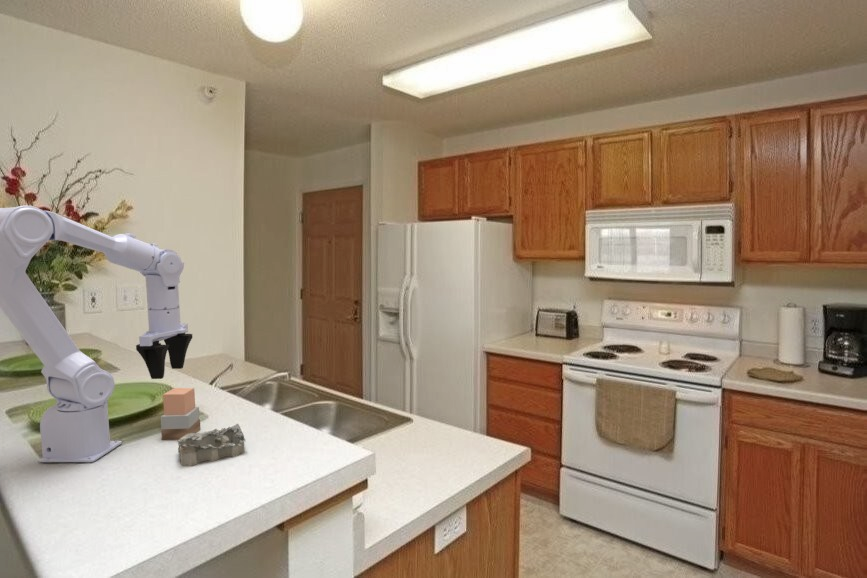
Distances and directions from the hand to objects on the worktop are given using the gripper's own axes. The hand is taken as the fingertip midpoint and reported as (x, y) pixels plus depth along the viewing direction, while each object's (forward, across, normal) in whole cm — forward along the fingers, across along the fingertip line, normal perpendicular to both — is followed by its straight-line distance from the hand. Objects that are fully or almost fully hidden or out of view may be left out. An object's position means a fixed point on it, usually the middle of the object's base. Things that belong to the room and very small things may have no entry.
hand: (167, 373), depth 101 cm
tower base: (+11, -7, -6) cm, 14 cm away
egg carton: (+11, -15, -16) cm, 24 cm away
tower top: (+8, -7, -6) cm, 12 cm away
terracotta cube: (+6, -7, -6) cm, 10 cm away
